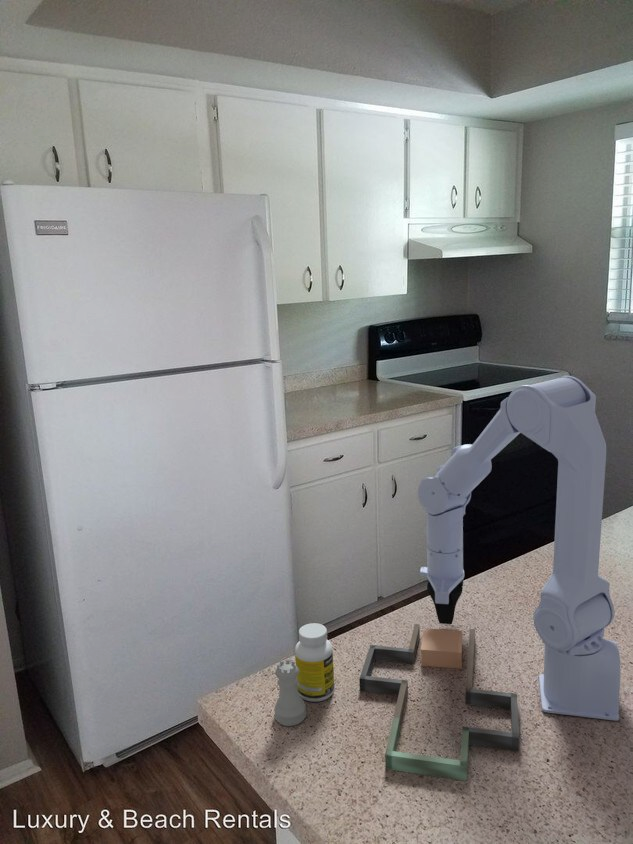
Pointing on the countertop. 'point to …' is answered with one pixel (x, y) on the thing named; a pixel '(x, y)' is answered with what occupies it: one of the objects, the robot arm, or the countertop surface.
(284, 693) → the rook chess piece
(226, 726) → the countertop surface
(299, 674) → the supplement bottle
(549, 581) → the robot arm
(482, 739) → the box
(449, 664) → the light orange-tan block
